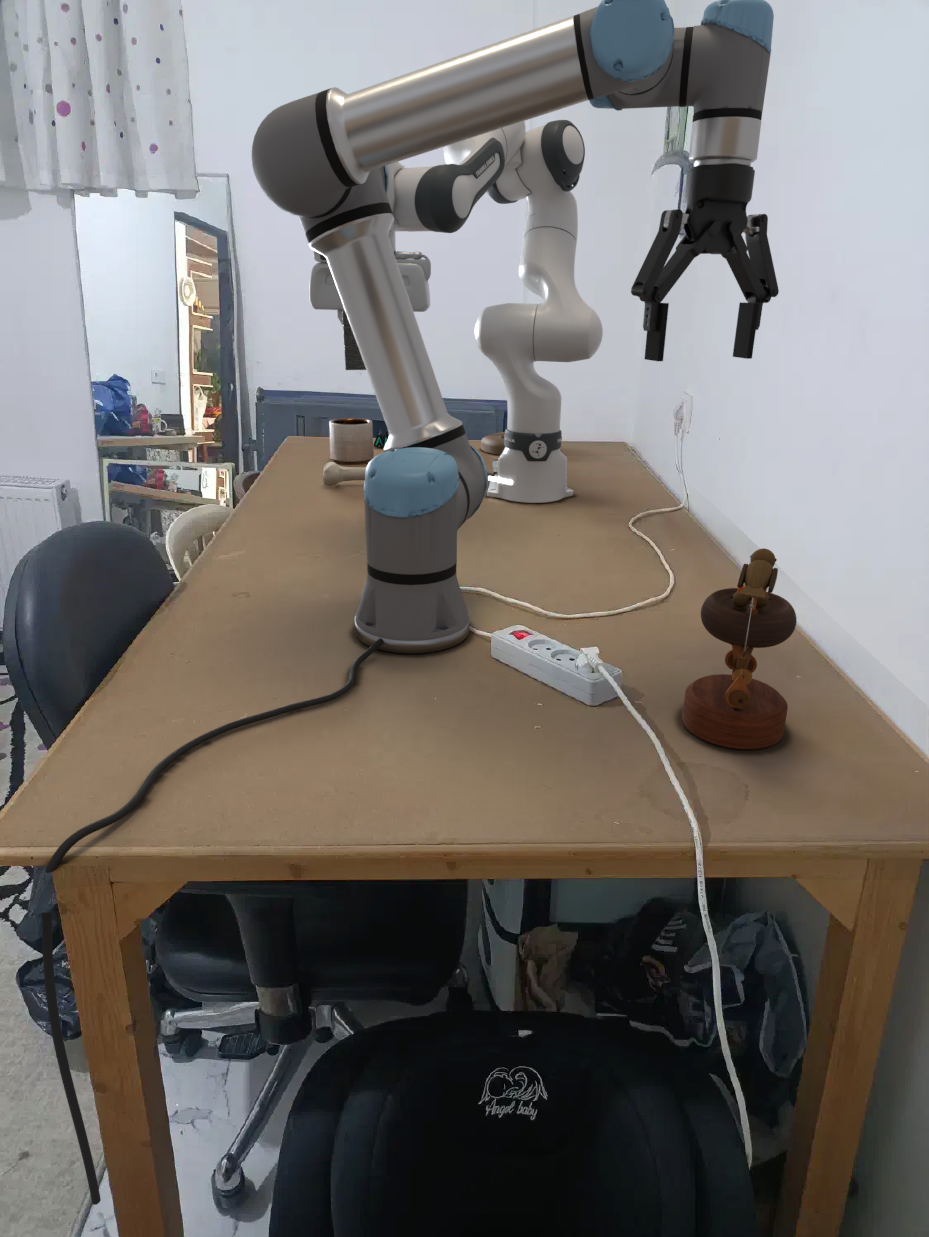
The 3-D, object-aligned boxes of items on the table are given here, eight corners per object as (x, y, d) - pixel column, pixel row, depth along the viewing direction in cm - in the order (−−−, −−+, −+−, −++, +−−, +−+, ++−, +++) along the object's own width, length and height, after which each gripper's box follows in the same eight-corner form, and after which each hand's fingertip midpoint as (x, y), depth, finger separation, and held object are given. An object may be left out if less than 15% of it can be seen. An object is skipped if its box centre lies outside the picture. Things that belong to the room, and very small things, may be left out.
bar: (382, 369, 127) (380, 311, 124) (345, 370, 127) (342, 311, 124) (389, 356, 149) (387, 305, 146) (357, 356, 149) (355, 305, 146)
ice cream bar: (486, 465, 210) (486, 448, 209) (479, 444, 236) (479, 428, 235) (570, 465, 211) (571, 449, 210) (554, 444, 237) (554, 429, 236)
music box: (804, 761, 84) (822, 570, 76) (690, 761, 85) (697, 574, 78) (770, 691, 98) (782, 524, 90) (673, 692, 99) (677, 527, 92)
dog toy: (411, 480, 194) (411, 458, 192) (414, 486, 189) (414, 464, 187) (322, 482, 191) (321, 460, 189) (322, 488, 185) (321, 465, 184)
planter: (327, 456, 217) (325, 418, 214) (369, 454, 220) (368, 417, 217) (334, 465, 208) (332, 425, 204) (377, 463, 211) (376, 424, 207)
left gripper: (781, 175, 105) (756, 354, 113) (610, 161, 95) (596, 358, 103) (828, 169, 98) (797, 359, 106) (650, 154, 89) (632, 364, 97)
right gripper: (434, 252, 141) (434, 339, 146) (315, 250, 143) (319, 336, 149) (427, 251, 135) (427, 342, 140) (303, 249, 138) (308, 339, 143)
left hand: (698, 359), depth 105 cm, fingers open, 13 cm apart
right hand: (371, 339), depth 145 cm, fingers closed on bar, 6 cm apart
